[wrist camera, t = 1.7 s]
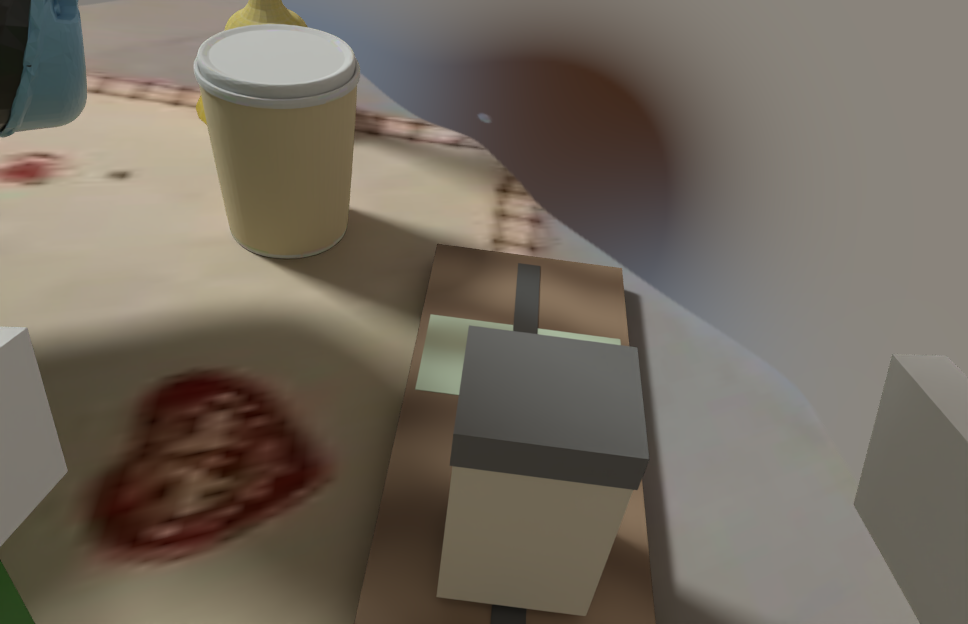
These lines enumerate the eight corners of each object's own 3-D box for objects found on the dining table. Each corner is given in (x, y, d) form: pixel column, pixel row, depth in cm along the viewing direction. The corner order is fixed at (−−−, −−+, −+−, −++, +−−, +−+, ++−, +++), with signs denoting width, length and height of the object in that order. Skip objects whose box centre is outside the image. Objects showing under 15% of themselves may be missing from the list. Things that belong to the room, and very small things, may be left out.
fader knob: (588, 618, 31) (649, 459, 24) (433, 599, 31) (453, 433, 24) (585, 509, 35) (637, 347, 28) (448, 491, 35) (468, 325, 28)
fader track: (659, 797, 28) (671, 781, 27) (329, 755, 28) (328, 737, 27) (616, 286, 51) (621, 267, 50) (435, 262, 51) (437, 243, 50)
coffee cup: (384, 213, 55) (389, 47, 47) (309, 284, 48) (300, 103, 40) (273, 175, 57) (259, 10, 49) (186, 237, 50) (154, 57, 42)
